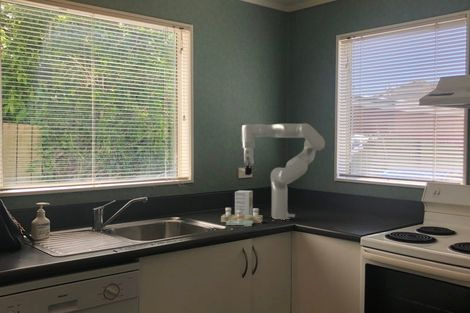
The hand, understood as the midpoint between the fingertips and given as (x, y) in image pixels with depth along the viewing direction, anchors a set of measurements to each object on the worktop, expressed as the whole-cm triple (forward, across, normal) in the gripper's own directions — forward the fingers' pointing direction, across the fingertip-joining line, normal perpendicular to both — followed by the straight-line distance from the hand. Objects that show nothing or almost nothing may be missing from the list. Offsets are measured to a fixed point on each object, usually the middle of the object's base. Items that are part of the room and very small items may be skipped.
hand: (248, 174), depth 280 cm
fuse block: (+28, -6, +4) cm, 29 cm away
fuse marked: (+27, -16, +4) cm, 31 cm away
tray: (+28, -16, +4) cm, 32 cm away
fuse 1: (+27, -6, +12) cm, 30 cm away
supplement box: (+28, +11, +4) cm, 31 cm away
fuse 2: (+27, -6, -4) cm, 28 cm away
